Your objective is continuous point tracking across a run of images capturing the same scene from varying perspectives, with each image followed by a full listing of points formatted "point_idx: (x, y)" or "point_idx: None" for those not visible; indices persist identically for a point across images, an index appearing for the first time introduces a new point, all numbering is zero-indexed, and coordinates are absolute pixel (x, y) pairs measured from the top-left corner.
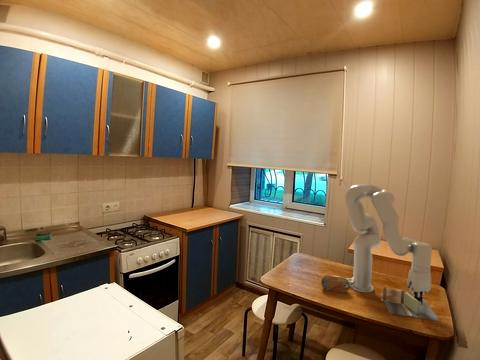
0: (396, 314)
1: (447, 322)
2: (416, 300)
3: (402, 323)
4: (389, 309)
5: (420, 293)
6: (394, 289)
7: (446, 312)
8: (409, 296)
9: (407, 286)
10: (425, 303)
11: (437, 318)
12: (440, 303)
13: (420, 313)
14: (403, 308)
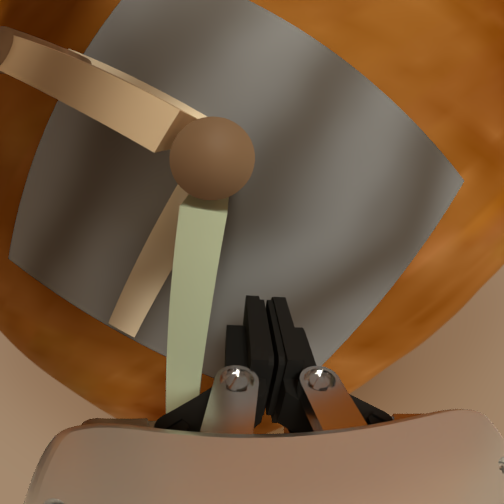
0: (44, 280)
1: None
2: (177, 407)
3: (41, 350)
4: (24, 222)
5: (305, 424)
6: (88, 73)
7: (425, 336)
8: (169, 320)
9: (49, 462)
10: (423, 227)
11: None
12: (496, 249)
13: None
14: (140, 238)
